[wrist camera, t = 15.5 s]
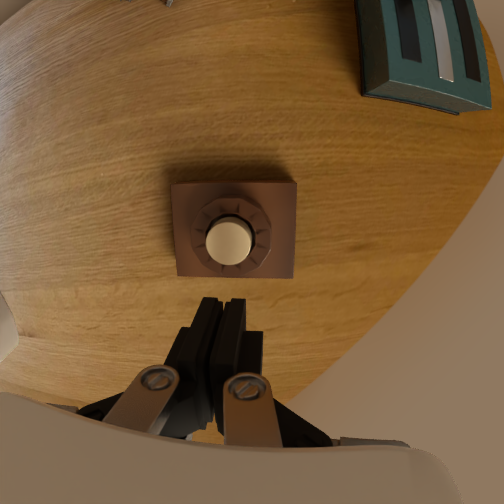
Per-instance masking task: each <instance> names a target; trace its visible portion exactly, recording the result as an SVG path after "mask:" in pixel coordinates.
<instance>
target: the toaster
mask: <svg viewBox="0 0 504 504" xmlns="http://www.w3.org/2000/svg"><path fill="white" fill-rule="evenodd" d="M354 6H355V14H356V23H357V33H358V44H359V57H360V74H361V96H363V97H370V98H377V99H383V100H389V101H395V102H401V103H406V104H411V105H416V106H420V107H425V108H429V109H433V110H437V111H441V112H445V113H449V114H453V115H459V112H468V111H479V110H490V109H492V106H491V93H490V82H489V74H488V67H487V60H486V54H485V48H484V43H483V38H482V33H481V28H480V24H479V20H478V16H477V13H476V9H475V5H474V2H473V0H354Z"/></svg>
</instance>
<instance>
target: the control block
mask: <svg viewBox="0 0 504 504" xmlns="http://www.w3.org/2000/svg"><path fill="white" fill-rule="evenodd" d="M296 200H297V183H296V182H295V181H294V180H202V181H178V182H175V183H173V184H171V201H172V217H173V231H174V243H175V255H176V265H177V275H178V276H188V277H225V278H282V279H293V275H294V255H295V231H296ZM225 217H236V218H239V219H241V220H242V221H244V222H245V223H246V224H247V225H248V227H249V228H250V230H251V234H252V242H251V248H250V251H249V254H248V255H247V257H246V258H245V259H244V260H243V261H241V262H239V263H237V264H234V265H225V264H221V263H219V262H217V261H215V260H214V259H213V258H212V257H211V256H210V254H209V253H208V251H207V248H206V237H207V234H208V232H209V231H210V229H211V228H212V227H213V225H214V224H215V223H216V222H217V221H218V220H220V219H222V218H225Z"/></svg>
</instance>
